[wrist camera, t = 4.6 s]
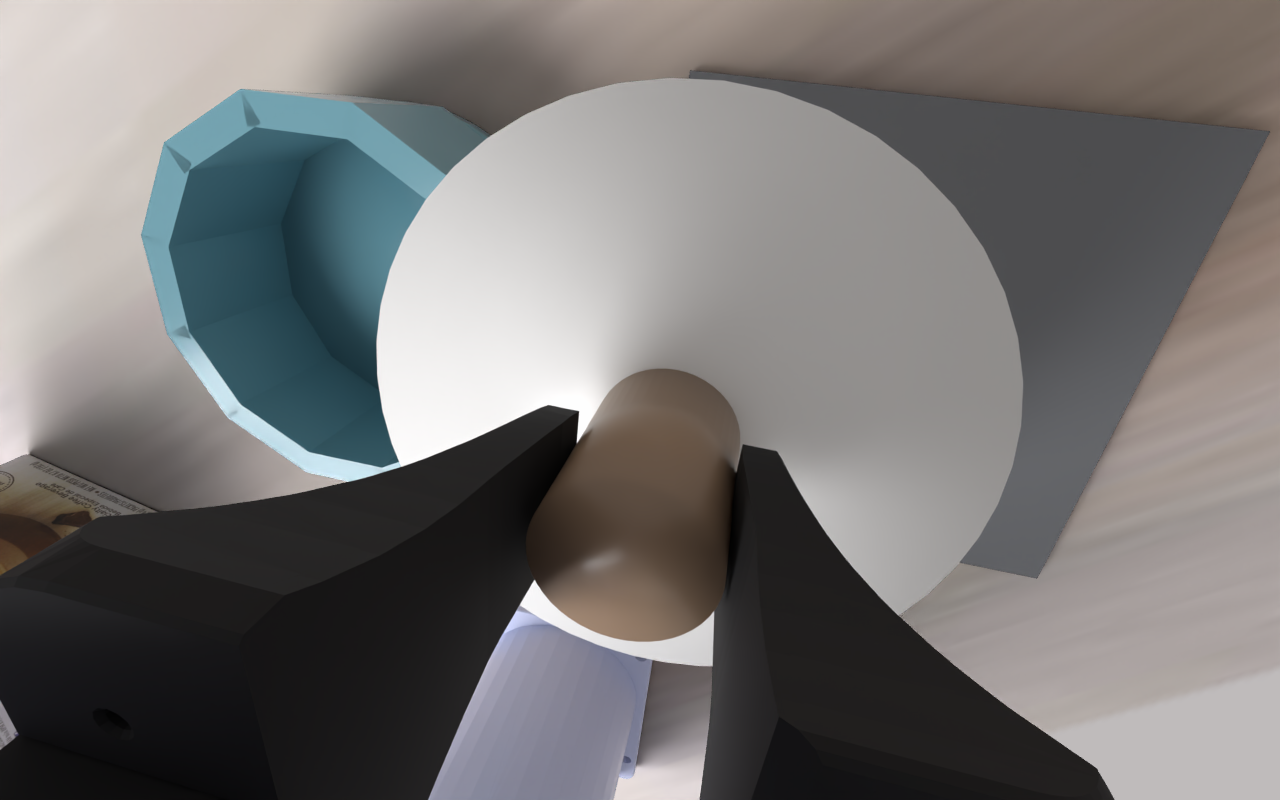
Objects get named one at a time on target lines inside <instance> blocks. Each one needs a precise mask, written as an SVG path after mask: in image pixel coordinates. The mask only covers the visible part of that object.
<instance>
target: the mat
mask: <svg viewBox="0 0 1280 800" xmlns="http://www.w3.org/2000/svg"><path fill="white" fill-rule="evenodd" d="M689 79H705V80H724V81H729V82H734V83H738V84H743V85H748V86H753V87H758V88H763V89H768V90H773V91H777V92H780V93H783V94H786V95H788V96H791V97H794V98H797V99H799V100H802V101H805V102H808V103H810V104H813V105H816V106H819V107H821V108H824V109H827V110H829V111H831V112H833V113H835V114H836V115H838V116H840V117H842V118H844V119H846V120H847V121H849V122H851V123H853V124H855V125H857V126H858V127H860V128H862V129H864V130H866V131H868V132H869V133H871V134H873V135H875V136H877V137H878V138H879V139H880V140H882V141H883V142H884V143H886V144H887V145H888V146H890V147H891V148H892V149H894V150H895V151H896V152H897V153H899V154H900V155H901V156H903V157H904V158H905V159H907V160H908V161H909V162H911V163H912V164H913V165H915V166H916V167H917V168H918V169H919V170H920V171H921V172H922V173H923V174H924V175H925V176H926V177H927V178H928V179H929V180H930V181H931V182H932V183H933V184H934V185H935V186H936V187H937V188H938V189H939V190H940V191H941V192H942V194H943V195H944V196H945V197H946V198H947V199H948V200H949V201H950V202H951V203H952V204H953V205H954V206H955V207H956V209H957V210H958V212H959V213H960V215H961V216H962V217H963V219H964V220H965V222H966V223H967V225H968V226H969V228H970V229H971V230H972V232H973V233H974V235H975V236H976V238H977V239H978V241H979V242H980V243H981V245H982V246H983V248H984V250H985V252H986V254H987V256H988V258H989V260H990V262H991V264H992V266H993V268H994V271H995V273H996V275H997V277H998V279H999V281H1000V283H1001V285H1002V287H1003V289H1004V292H1005V294H1006V298H1007V301H1008V305H1009V308H1010V312H1011V315H1012V319H1013V322H1014V325H1015V329H1016V332H1017V336H1018V342H1019V350H1020V359H1021V367H1022V376H1023V399H1022V420H1021V429H1020V434H1019V438H1018V443H1017V448H1016V452H1015V457H1014V462H1013V466H1012V469H1011V472H1010V474H1009V477H1008V479H1007V482H1006V485H1005V487H1004V490H1003V492H1002V495H1001V498H1000V500H999V503H998V505H997V507H996V508H995V510H994V512H993V514H992V515H991V517H990V519H989V521H988V522H987V524H986V526H985V528H984V529H983V531H982V533H981V535H980V536H979V538H978V539H977V541H976V542H975V543H974V544H973V546H972V547H971V548H970V550H969V551H968V552H967V553H966V555H965V556H964V557H963V559H962V560H961V561H960V562H959V563H964V564H969V565H974V566H979V567H983V568H988V569H993V570H998V571H1003V572H1008V573H1013V574H1017V575H1022V576H1027V577H1032V578H1038V576H1039V574H1040V572H1041V570H1042V568H1043V566H1044V565H1045V563H1046V561H1047V559H1048V557H1049V555H1050V553H1051V551H1052V549H1053V547H1054V545H1055V543H1056V541H1057V540H1058V538H1059V536H1060V534H1061V532H1062V530H1063V528H1064V526H1065V524H1066V522H1067V520H1068V518H1069V517H1070V515H1071V513H1072V511H1073V509H1074V507H1075V505H1076V503H1077V501H1078V499H1079V497H1080V495H1081V494H1082V492H1083V490H1084V488H1085V486H1086V484H1087V482H1088V480H1089V478H1090V476H1091V474H1092V472H1093V470H1094V469H1095V467H1096V465H1097V463H1098V461H1099V459H1100V457H1101V455H1102V453H1103V451H1104V449H1105V447H1106V446H1107V444H1108V442H1109V440H1110V438H1111V436H1112V434H1113V432H1114V430H1115V428H1116V426H1117V424H1118V422H1119V421H1120V419H1121V417H1122V415H1123V413H1124V411H1125V409H1126V407H1127V405H1128V403H1129V401H1130V399H1131V398H1132V396H1133V394H1134V392H1135V390H1136V388H1137V386H1138V384H1139V382H1140V380H1141V378H1142V376H1143V375H1144V373H1145V371H1146V369H1147V367H1148V365H1149V363H1150V361H1151V359H1152V357H1153V355H1154V353H1155V351H1156V350H1157V348H1158V346H1159V344H1160V342H1161V340H1162V338H1163V336H1164V334H1165V332H1166V330H1167V328H1168V327H1169V325H1170V323H1171V321H1172V319H1173V317H1174V315H1175V313H1176V311H1177V309H1178V307H1179V305H1180V303H1181V302H1182V300H1183V298H1184V296H1185V294H1186V292H1187V290H1188V288H1189V286H1190V284H1191V282H1192V280H1193V279H1194V277H1195V275H1196V273H1197V271H1198V269H1199V267H1200V265H1201V263H1202V261H1203V259H1204V257H1205V256H1206V254H1207V252H1208V250H1209V248H1210V246H1211V244H1212V242H1213V240H1214V238H1215V236H1216V234H1217V232H1218V231H1219V229H1220V227H1221V225H1222V223H1223V221H1224V219H1225V217H1226V215H1227V213H1228V211H1229V209H1230V208H1231V206H1232V204H1233V202H1234V200H1235V198H1236V196H1237V194H1238V192H1239V190H1240V188H1241V186H1242V184H1243V183H1244V181H1245V179H1246V177H1247V175H1248V173H1249V171H1250V169H1251V167H1252V165H1253V163H1254V161H1255V160H1256V158H1257V156H1258V154H1259V152H1260V150H1261V148H1262V146H1263V144H1264V142H1265V140H1266V138H1267V137H1268V135H1269V133H1270V131H1262V130H1253V129H1243V128H1233V127H1224V126H1214V125H1205V124H1195V123H1186V122H1176V121H1167V120H1157V119H1148V118H1138V117H1129V116H1119V115H1110V114H1100V113H1091V112H1081V111H1072V110H1062V109H1053V108H1043V107H1034V106H1024V105H1015V104H1005V103H996V102H986V101H977V100H967V99H958V98H948V97H939V96H929V95H919V94H910V93H900V92H891V91H881V90H872V89H862V88H853V87H843V86H834V85H824V84H815V83H805V82H796V81H786V80H777V79H767V78H758V77H748V76H739V75H729V74H720V73H710V72H701V71H691V70H690V75H689Z"/></svg>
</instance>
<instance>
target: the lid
mask: <svg viewBox="0 0 1280 800" xmlns="http://www.w3.org/2000/svg"><path fill="white" fill-rule="evenodd" d="M377 378H378V384H379V391H380V397H381V404H382V410H383V414H384V418H385V421H386V425H387V429H388V432H389V436H390V439H391V443H392V446H393V448H394V450H395V453H396V455H397V458H398V460H399V462H400V465H401V467H402V466H405V465H408V464H411V463H414V462H417V461H419V460H422V459H425V458H428V457H430V456H433V455H435V454H437V453H440V452H442V451H445V450H447V449H450V448H452V447H455V446H457V445H460V444H462V443H464V442H467V441H469V440H472V439H474V438H476V437H478V436H481V435H483V434H485V433H487V432H489V431H491V430H494V429H496V428H498V427H500V426H502V425H504V424H506V423H509V422H511V421H513V420H515V419H517V418H519V417H521V416H523V415H525V414H528V413H530V412H532V411H534V410H536V409H539V408H541V407H544V406H547V405H552V406H557V407H561V408H566V409H571V410H576V411H579V422H578V435H577V444H576V446H575V447H574V449H573V451H572V452H571V454H570V456H569V457H568V459H567V461H566V462H565V464H564V466H563V467H562V469H561V471H560V472H559V474H558V475H557V477H556V479H555V480H554V482H553V484H552V485H551V487H550V489H549V490H548V492H547V494H546V495H545V497H544V499H543V500H542V502H541V504H540V505H539V507H538V508H537V510H536V512H535V513H534V515H533V517H532V519H531V522H530V524H529V527H528V531H527V536H526V555H527V560H528V564H529V567H530V570H531V573H532V575H533V577H534V579H535V580H534V581H533V583H532V585H531V587H530V588H529V590H528V592H527V593H526V595H525V597H524V599H523V600H522V602H521V604H520V606H522V607H523V608H525V609H526V610H528V611H529V612H531V613H533V614H534V615H536V616H537V617H539V618H541V619H543V620H544V621H546V622H548V623H550V624H552V625H554V626H556V627H558V628H560V629H562V630H564V631H566V632H568V633H570V634H572V635H575V636H577V637H580V638H582V639H584V640H587V641H589V642H592V643H594V644H597V645H599V646H602V647H606V648H609V649H612V650H615V651H619V652H622V653H625V654H629V655H632V656H637V657H642V658H647V659H651V660H656V661H661V662H667V663H676V664H685V665H694V666H713V634H714V610H715V609H716V608H717V606H718V604H719V602H720V600H721V598H722V595H723V592H724V588H725V582H726V574H727V564H728V555H729V545H730V535H731V525H732V508H733V498H734V489H735V479H736V472H737V467H738V463H739V458H740V454H741V450H742V445H743V444H744V445H749V446H754V447H759V448H764V449H769V450H774V451H777V452H778V454H779V455H780V457H781V458H782V460H783V462H784V464H785V466H786V468H787V470H788V472H789V473H790V475H791V477H792V479H793V481H794V482H795V484H796V486H797V488H798V490H799V491H800V493H801V495H802V496H803V498H804V500H805V501H806V503H807V505H808V506H809V508H810V509H811V511H812V512H813V514H814V515H815V517H816V519H817V520H818V522H819V523H820V525H821V526H822V528H823V529H824V531H825V532H826V534H827V535H828V536H829V538H830V539H831V540H832V542H833V543H834V544H835V546H836V547H837V548H838V550H839V551H840V552H841V553H842V555H843V556H844V557H845V558H846V560H847V561H848V562H849V563H850V564H851V566H852V567H853V568H854V569H855V570H856V571H857V573H858V574H859V575H860V576H861V577H862V578H863V579H864V580H865V581H866V582H867V584H868V585H869V586H870V587H871V588H872V589H873V590H874V591H875V592H876V593H877V595H878V596H879V597H880V598H881V599H882V600H883V601H884V602H885V603H886V604H887V605H888V606H889V607H890V608H891V609H892V610H893V611H894V612H895V613H896V614H897V615H898V616H899V615H901V614H902V613H903V612H905V611H906V610H907V609H909V608H910V607H911V606H913V605H914V604H915V603H917V602H918V601H919V600H921V599H922V598H923V597H925V596H926V595H927V594H929V593H930V592H931V591H932V590H933V589H934V588H935V587H936V586H937V585H938V584H939V583H940V582H941V581H942V580H943V579H944V578H945V577H946V576H947V575H948V574H949V573H950V572H951V571H952V570H954V569H955V567H956V566H957V565H958V564H959V562H960V561H961V560H962V559H963V557H964V556H965V555H966V553H967V552H968V551H969V550H970V548H971V547H972V546H973V544H974V543H975V542H976V541H977V539H978V538H979V536H980V535H981V533H982V531H983V529H984V528H985V526H986V524H987V522H988V521H989V519H990V517H991V515H992V514H993V512H994V510H995V508H996V507H997V505H998V503H999V500H1000V498H1001V495H1002V492H1003V490H1004V487H1005V485H1006V482H1007V479H1008V477H1009V474H1010V472H1011V469H1012V466H1013V462H1014V457H1015V452H1016V448H1017V443H1018V438H1019V434H1020V429H1021V420H1022V399H1023V376H1022V367H1021V359H1020V350H1019V342H1018V336H1017V332H1016V329H1015V325H1014V322H1013V319H1012V315H1011V312H1010V308H1009V305H1008V301H1007V298H1006V294H1005V292H1004V289H1003V287H1002V285H1001V283H1000V281H999V279H998V277H997V275H996V273H995V271H994V268H993V266H992V264H991V262H990V260H989V258H988V256H987V254H986V252H985V250H984V248H983V246H982V245H981V243H980V242H979V241H978V239H977V238H976V236H975V235H974V233H973V232H972V230H971V229H970V228H969V226H968V225H967V223H966V222H965V220H964V219H963V217H962V216H961V215H960V213H959V212H958V210H957V209H956V207H955V206H954V205H953V204H952V203H951V202H950V201H949V200H948V199H947V198H946V197H945V196H944V195H943V194H942V192H941V191H940V190H939V189H938V188H937V187H936V186H935V185H934V184H933V183H932V182H931V181H930V180H929V179H928V178H927V177H926V176H925V175H924V174H923V173H922V172H921V171H920V170H919V169H918V168H917V167H916V166H915V165H913V164H912V163H911V162H909V161H908V160H907V159H905V158H904V157H903V156H901V155H900V154H899V153H897V152H896V151H895V150H894V149H892V148H891V147H890V146H888V145H887V144H886V143H884V142H883V141H882V140H880V139H879V138H878V137H877V136H875V135H873V134H871V133H869V132H868V131H866V130H864V129H862V128H860V127H858V126H857V125H855V124H853V123H851V122H849V121H847V120H846V119H844V118H842V117H840V116H838V115H836V114H835V113H833V112H831V111H829V110H827V109H824V108H821V107H819V106H816V105H813V104H810V103H808V102H805V101H802V100H799V99H797V98H794V97H791V96H788V95H786V94H783V93H780V92H777V91H773V90H768V89H763V88H758V87H753V86H748V85H743V84H738V83H734V82H729V81H724V80H705V79H685V78H662V79H652V80H642V81H632V82H622V83H616V84H612V85H608V86H604V87H600V88H596V89H593V90H589V91H585V92H581V93H577V94H573V95H569V96H567V97H565V98H562V99H560V100H558V101H555V102H553V103H551V104H548V105H546V106H544V107H541V108H539V109H537V110H534V111H532V112H530V113H527V114H525V115H523V116H522V117H520V118H519V119H517V120H515V121H514V122H512V123H511V124H509V125H507V126H506V127H504V128H503V129H501V130H499V131H498V132H496V133H495V134H493V135H491V136H490V137H488V138H487V139H485V140H484V141H483V142H482V143H481V144H480V145H478V146H477V147H476V148H475V149H474V150H473V151H471V152H470V153H469V154H468V155H467V156H466V157H465V158H463V159H462V160H461V161H460V162H459V163H458V164H456V165H455V166H454V167H453V168H452V169H451V170H450V172H449V173H448V174H447V175H446V176H445V178H444V179H443V180H442V181H441V182H440V183H439V185H438V186H437V187H436V188H435V189H434V190H433V192H432V193H431V194H430V195H429V196H428V198H427V199H426V200H425V202H424V203H423V205H422V207H421V208H420V210H419V212H418V213H417V215H416V216H415V218H414V220H413V221H412V223H411V225H410V226H409V228H408V230H407V231H406V233H405V235H404V237H403V240H402V242H401V244H400V247H399V249H398V251H397V254H396V256H395V258H394V261H393V263H392V266H391V268H390V271H389V275H388V279H387V283H386V286H385V290H384V294H383V298H382V302H381V306H380V315H379V324H378V333H377Z"/></svg>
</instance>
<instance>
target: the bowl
mask: <svg viewBox="0 0 1280 800" xmlns="http://www.w3.org/2000/svg"><path fill="white" fill-rule="evenodd" d="M490 136H491V135H490V134H488V133H487V132H485V131H484V130H482V129H481V128H480V127H478V126H477V125H475V124H473V123H471V122H469V121H468V120H466V119H464V118H462V117H460V116H458V115H456V114H454V113H451V112H449V111H448V110H446V109H445V108H444V107H442V106H434V105H426V104H420V103H415V102H405V101H392V100H384V99H376V98H367V97H359V96H350V95H333V94H317V93H301V92H284V91H268V90H251V89H240V90H238V91H237V92H235V93H234V94H233V95H231V96H230V97H228V98H227V99H225V100H224V101H223V102H221V103H220V104H218V105H217V106H215V107H214V108H213V109H211V110H210V111H208V112H207V113H205V114H204V115H203V116H201V117H200V118H198V119H197V120H195V121H194V122H193V123H191V124H190V125H188V126H187V127H185V128H184V129H183V130H181V131H180V132H178V133H177V134H175V135H174V136H173V137H171V138H170V139H168V140H167V141H165V142H164V145H163V149H162V153H161V157H160V161H159V165H158V169H157V173H156V177H155V181H154V185H153V189H152V193H151V197H150V201H149V205H148V209H147V214H146V218H145V222H144V226H143V230H142V234H141V236H142V240H143V244H144V248H145V251H146V255H147V259H148V263H149V267H150V270H151V274H152V278H153V282H154V286H155V290H156V293H157V297H158V301H159V305H160V309H161V312H162V316H163V320H164V324H165V328H166V331H167V335H168V336H169V337H170V339H171V340H172V342H173V343H174V344H175V346H176V347H177V348H178V350H179V351H180V353H181V354H182V355H183V357H184V358H185V360H186V361H187V362H188V364H189V365H190V366H191V368H192V369H193V371H194V372H195V373H196V375H197V376H198V378H199V379H200V380H201V382H202V383H203V384H204V386H205V387H206V389H207V390H208V391H209V393H210V394H211V396H212V397H213V398H214V400H215V401H216V402H217V404H218V405H219V407H220V408H221V409H222V411H223V412H224V414H225V415H226V416H227V418H229V419H230V420H232V421H233V422H234V423H236V424H237V425H239V426H240V427H242V428H243V429H245V430H246V431H247V432H249V433H250V434H252V435H253V436H255V437H256V438H257V439H259V440H260V441H262V442H263V443H265V444H266V445H268V446H269V447H270V448H272V449H273V450H275V451H276V452H278V453H279V454H281V455H282V456H283V457H285V458H286V459H288V460H289V461H291V462H292V463H294V464H295V465H296V466H298V467H299V468H301V469H302V470H304V471H305V472H307V473H311V474H316V475H320V476H325V477H329V478H334V479H339V480H343V481H348V482H350V481H354V480H358V479H362V478H366V477H369V476H373V475H376V474H379V473H383V472H386V471H389V470H392V469H396V468H399V467H401V465H400V462H399V460H398V458H397V455H396V453H395V450H394V448H393V446H392V443H391V439H390V436H389V432H388V429H387V425H386V421H385V418H384V414H383V410H382V404H381V397H380V391H379V384H378V378H377V333H378V324H379V315H380V306H381V302H382V298H383V294H384V290H385V286H386V283H387V279H388V275H389V271H390V268H391V266H392V263H393V261H394V258H395V256H396V254H397V251H398V249H399V247H400V244H401V242H402V240H403V237H404V235H405V233H406V231H407V230H408V228H409V226H410V225H411V223H412V221H413V220H414V218H415V216H416V215H417V213H418V212H419V210H420V208H421V207H422V205H423V203H424V202H425V200H426V199H427V198H428V196H429V195H430V194H431V193H432V192H433V190H434V189H435V188H436V187H437V186H438V185H439V183H440V182H441V181H442V180H443V179H444V178H445V176H446V175H447V174H448V173H449V172H450V170H451V169H452V168H453V167H454V166H455V165H456V164H458V163H459V162H460V161H461V160H462V159H463V158H465V157H466V156H467V155H468V154H469V153H470V152H471V151H473V150H474V149H475V148H476V147H477V146H478V145H480V144H481V143H482V142H483V141H484V140H485V139H487V138H488V137H490Z"/></svg>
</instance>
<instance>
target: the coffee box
mask: <svg viewBox="0 0 1280 800" xmlns="http://www.w3.org/2000/svg"><path fill="white" fill-rule="evenodd" d="M153 512H157V511H155V510H152V509H150V508H148V507H146V506H143V505H141V504H139V503H137V502H134V501H132V500H130V499H128V498H125V497H123V496H121V495H119V494H116V493H114V492H112V491H110V490H107V489H105V488H103V487H101V486H98V485H96V484H94V483H92V482H89V481H87V480H85V479H82V478H80V477H78V476H76V475H73V474H71V473H69V472H67V471H64V470H62V469H60V468H58V467H55V466H53V465H51V464H49V463H47V462H44V461H42V460H40V459H38V458H35V457H33V456H31V455H23V456H20V457H18V458H16V459H14V460H12V461H9V462H7V463H5V464H2V465H0V575H1V574H3V573H5V572H7V571H8V570H10V569H12V568H13V567H15V566H17V565H19V564H20V563H22V562H24V561H25V560H27V559H29V558H30V557H32V556H34V555H35V554H37V553H39V552H40V551H42V550H44V549H45V548H47V547H49V546H50V545H52V544H54V543H55V542H57V541H59V540H60V539H62V538H64V537H65V536H67V535H69V534H70V533H72V532H74V531H75V530H77V529H79V528H80V527H82V526H84V525H85V524H87V523H89V522H90V521H92V520H94V519H96V518H98V517H102V516H118V515H131V514H142V513H153ZM18 735H19V734H18V733H17V731H16V729H15V727H14V725H13V723H12V722H11V720H10V718H9V716H8V714H7V712H6V710H5V708H4V707H3V705H2V703H1V701H0V750H1V749H2V748H3V747H4V746H6V745H7V744H8V743H9V742H11V741H12V740H13V739H14V738H15V737H17V736H18Z"/></svg>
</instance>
